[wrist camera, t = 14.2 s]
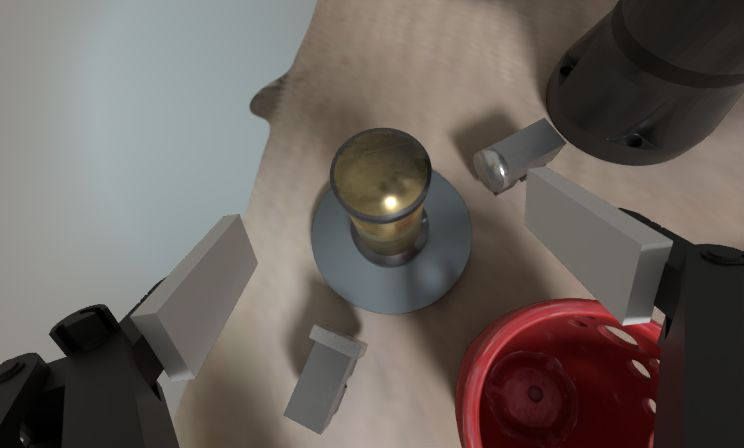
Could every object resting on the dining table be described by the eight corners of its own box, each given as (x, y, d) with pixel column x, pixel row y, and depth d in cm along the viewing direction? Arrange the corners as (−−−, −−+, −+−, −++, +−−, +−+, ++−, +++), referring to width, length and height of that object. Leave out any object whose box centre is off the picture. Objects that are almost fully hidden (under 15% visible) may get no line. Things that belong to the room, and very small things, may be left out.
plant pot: (535, 282, 29) (618, 251, 18) (646, 431, 25) (845, 513, 14) (410, 358, 28) (414, 375, 17) (503, 525, 24) (590, 698, 13)
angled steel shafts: (502, 133, 34) (520, 98, 29) (549, 163, 33) (576, 131, 27) (283, 377, 29) (256, 387, 24) (326, 426, 27) (307, 449, 22)
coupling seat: (418, 143, 35) (419, 135, 33) (500, 265, 30) (505, 262, 29) (292, 208, 34) (288, 203, 32) (356, 344, 29) (354, 345, 28)
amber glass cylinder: (404, 184, 32) (403, 103, 20) (442, 245, 30) (464, 191, 18) (341, 217, 31) (303, 153, 20) (374, 281, 29) (353, 250, 18)
